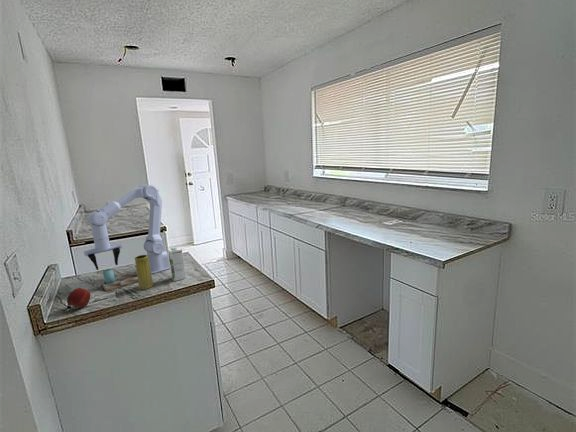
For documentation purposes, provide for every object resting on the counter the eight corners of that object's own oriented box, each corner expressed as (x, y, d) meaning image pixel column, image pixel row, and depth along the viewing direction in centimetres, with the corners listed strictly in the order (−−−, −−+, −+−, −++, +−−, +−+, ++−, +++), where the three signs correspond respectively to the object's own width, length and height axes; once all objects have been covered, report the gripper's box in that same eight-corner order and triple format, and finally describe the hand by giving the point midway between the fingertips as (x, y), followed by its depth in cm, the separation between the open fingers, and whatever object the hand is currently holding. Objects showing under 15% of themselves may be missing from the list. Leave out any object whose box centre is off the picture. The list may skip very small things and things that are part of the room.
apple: (92, 307, 119) (88, 289, 117) (68, 314, 115) (63, 295, 113) (92, 300, 125) (88, 282, 124) (69, 306, 121) (65, 288, 120)
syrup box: (171, 277, 144) (167, 248, 141) (184, 274, 146) (180, 246, 143) (173, 281, 139) (168, 252, 136) (186, 278, 142) (182, 249, 138)
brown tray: (136, 274, 150) (135, 270, 150) (141, 281, 142) (141, 276, 142) (101, 284, 141) (100, 280, 141) (105, 291, 133) (104, 287, 132)
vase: (150, 282, 140) (145, 253, 137) (155, 286, 135) (150, 256, 132) (137, 287, 136) (131, 257, 133) (141, 290, 131) (136, 260, 128)
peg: (115, 282, 141) (112, 268, 140) (116, 284, 138) (113, 270, 137) (105, 284, 139) (102, 270, 138) (106, 287, 136) (103, 273, 134)
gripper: (117, 233, 141) (122, 260, 144) (80, 240, 133) (87, 269, 135) (120, 235, 136) (126, 264, 139) (82, 243, 127) (89, 273, 130)
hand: (107, 266), depth 137 cm, fingers open, 7 cm apart
